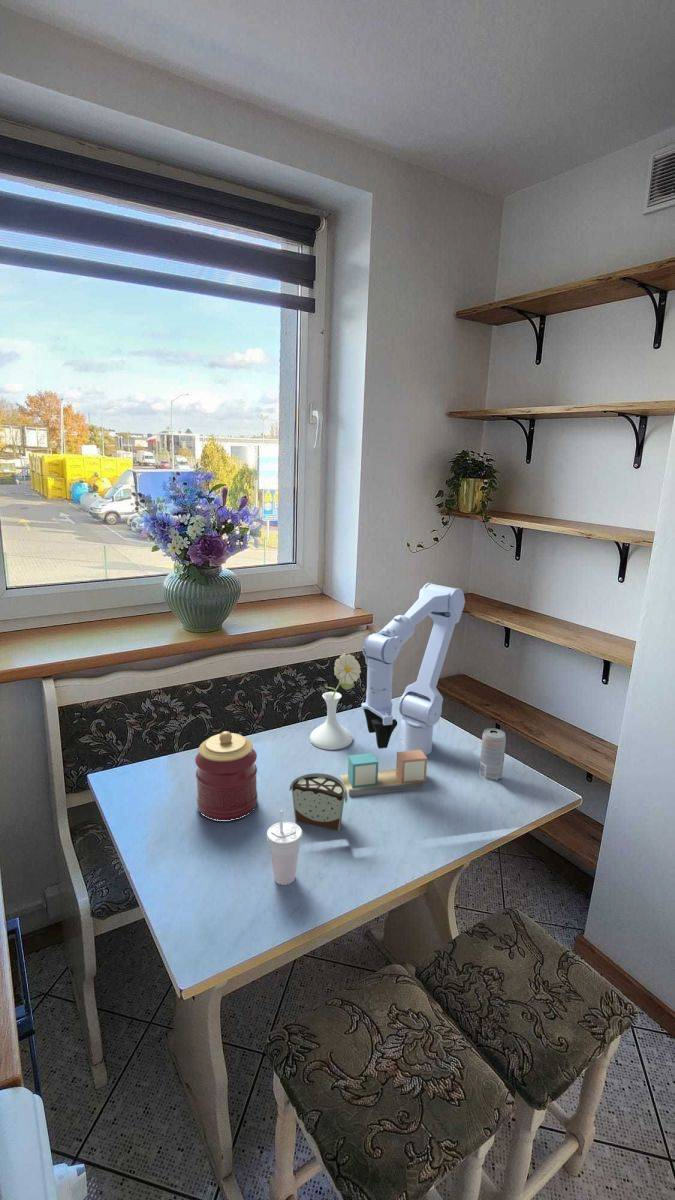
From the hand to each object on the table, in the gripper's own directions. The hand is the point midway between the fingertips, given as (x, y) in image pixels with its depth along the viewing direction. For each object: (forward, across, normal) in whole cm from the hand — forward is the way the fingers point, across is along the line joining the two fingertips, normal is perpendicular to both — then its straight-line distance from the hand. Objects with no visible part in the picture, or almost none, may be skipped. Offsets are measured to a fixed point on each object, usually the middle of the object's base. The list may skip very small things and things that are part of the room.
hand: (377, 739), depth 141 cm
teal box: (+9, +3, -4) cm, 10 cm away
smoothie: (+10, +29, -26) cm, 41 cm away
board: (+10, +3, 0) cm, 11 cm away
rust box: (+9, +3, +7) cm, 12 cm away
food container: (+10, +14, -16) cm, 24 cm away
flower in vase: (+10, -19, -6) cm, 22 cm away
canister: (+10, +4, -35) cm, 37 cm away
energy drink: (+11, +5, +27) cm, 29 cm away
